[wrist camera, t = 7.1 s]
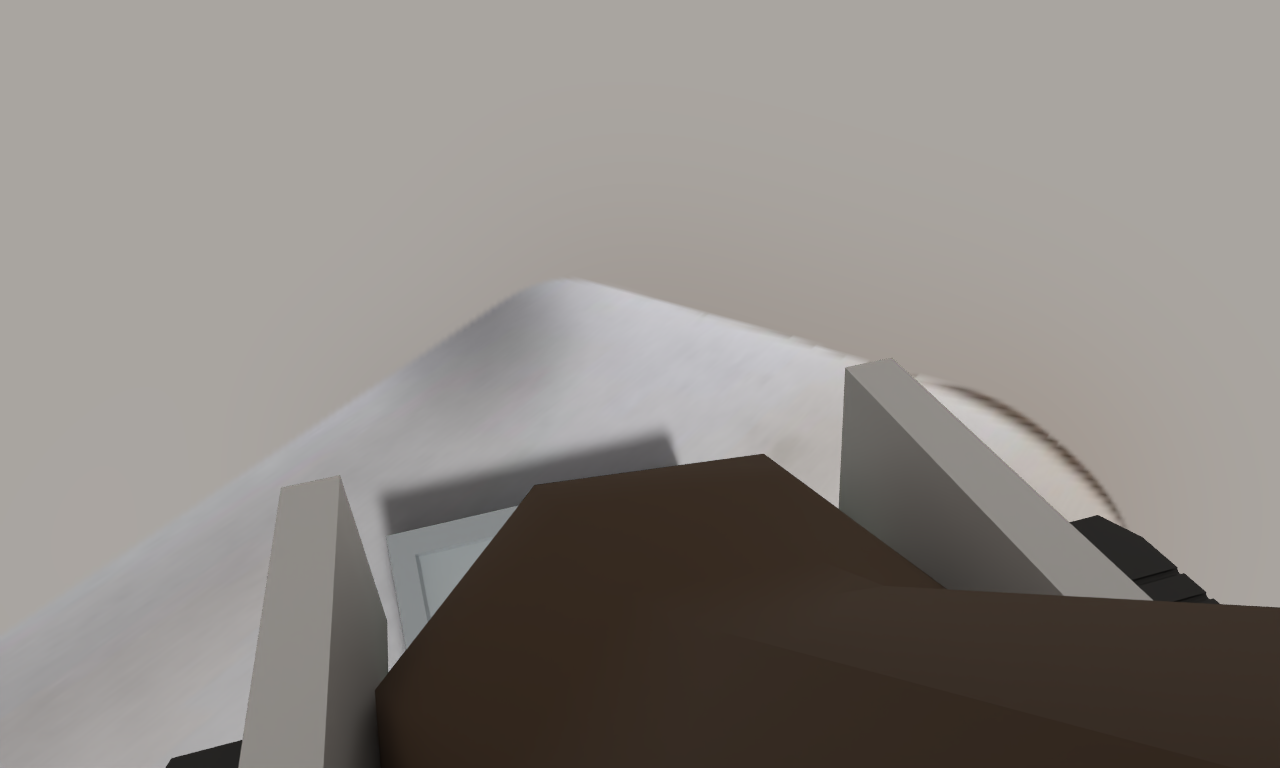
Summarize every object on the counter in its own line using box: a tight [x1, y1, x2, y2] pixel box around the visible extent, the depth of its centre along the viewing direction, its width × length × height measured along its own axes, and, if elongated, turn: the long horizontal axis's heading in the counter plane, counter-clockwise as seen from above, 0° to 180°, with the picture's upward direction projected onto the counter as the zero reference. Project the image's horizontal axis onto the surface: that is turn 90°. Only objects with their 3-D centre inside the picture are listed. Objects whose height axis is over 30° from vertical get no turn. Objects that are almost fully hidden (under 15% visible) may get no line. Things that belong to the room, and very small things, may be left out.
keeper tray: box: [386, 505, 519, 649], centre depth 36 cm, size 13×13×2 cm
